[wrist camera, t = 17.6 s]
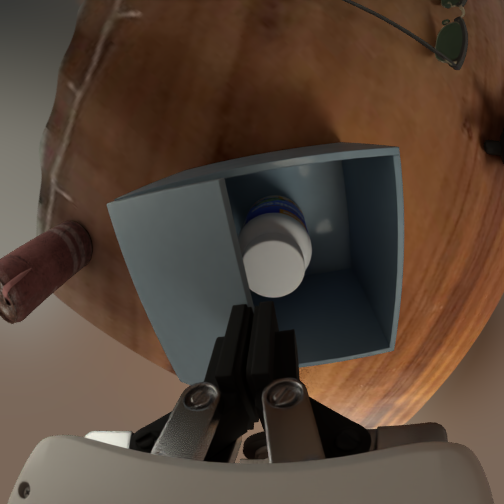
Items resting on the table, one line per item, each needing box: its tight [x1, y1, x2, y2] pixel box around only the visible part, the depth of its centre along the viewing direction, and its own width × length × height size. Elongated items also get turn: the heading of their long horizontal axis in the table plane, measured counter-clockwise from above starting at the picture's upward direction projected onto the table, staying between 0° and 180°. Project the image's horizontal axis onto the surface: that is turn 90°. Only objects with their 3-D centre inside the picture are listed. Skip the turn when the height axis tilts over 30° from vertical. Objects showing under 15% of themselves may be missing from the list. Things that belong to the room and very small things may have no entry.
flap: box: [107, 178, 254, 385], centre depth 13 cm, size 7×13×1 cm, turn 11°
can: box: [0, 221, 92, 324], centre depth 22 cm, size 6×6×14 cm
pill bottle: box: [238, 195, 312, 298], centre depth 21 cm, size 5×5×10 cm
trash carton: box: [114, 142, 404, 367], centre depth 20 cm, size 15×13×12 cm
